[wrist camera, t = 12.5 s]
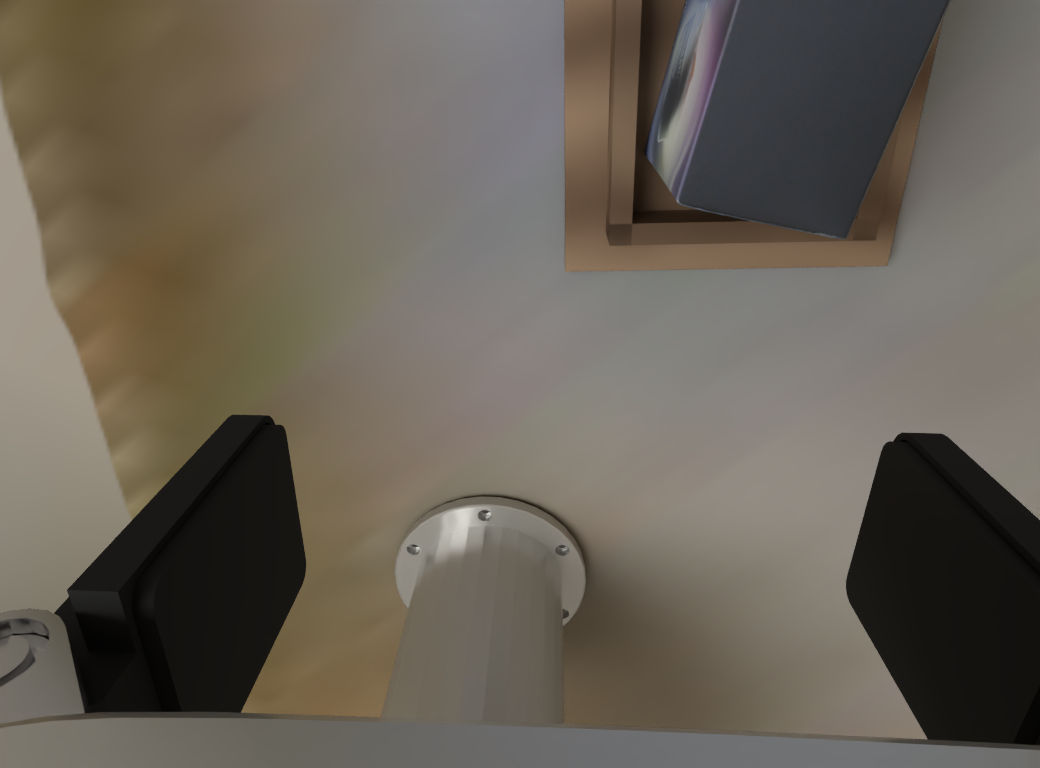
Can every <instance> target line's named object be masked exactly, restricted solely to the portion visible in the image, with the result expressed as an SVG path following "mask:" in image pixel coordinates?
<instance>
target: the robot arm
mask: <svg viewBox="0 0 1040 768" xmlns="http://www.w3.org/2000/svg"><path fill="white" fill-rule="evenodd" d="M305 572H306V558H305V552H304V545H303V539H302V532H301V526H300V519H299V513H298V507H297V500H296V494H295V487H294V481H293V474H292V468H291V461H290V455H289V449H288V442H287V436H286V431H285V429H284V427H283V426H282V425H275V423H274V421H273V419H272V418H271V417H270V416H262V415H231V416H230V417H228V418H227V419H226V421H225V422H224V423H223V424H222V425H221V426H220V427H219V428H218V429H217V430H216V431H215V432H214V433H213V434H212V435H211V437H210V438H209V439H208V440H207V441H206V442H205V443H204V444H203V445H202V446H201V447H200V448H199V449H198V450H197V452H196V453H195V454H194V455H193V456H192V457H191V458H190V459H189V460H188V461H187V462H186V463H185V464H184V465H183V467H182V468H181V469H180V470H179V471H178V472H177V473H176V474H175V475H174V476H173V477H172V478H171V479H170V480H169V482H168V483H167V484H166V485H165V486H164V487H163V488H162V489H161V490H160V491H159V492H158V493H157V494H156V495H155V496H154V498H153V499H152V500H151V501H150V502H149V503H148V504H147V505H146V506H145V507H144V508H143V509H142V510H141V511H140V513H139V514H138V515H137V516H136V517H135V518H134V519H133V520H132V521H131V522H130V523H129V524H128V525H127V526H126V528H125V529H124V530H123V531H122V532H121V533H120V534H119V535H118V536H117V537H116V538H115V539H114V541H112V543H111V544H110V545H109V546H108V547H107V548H106V549H105V550H104V551H103V552H102V553H101V554H100V555H99V556H98V558H97V559H96V560H95V561H94V562H93V563H92V564H91V565H90V566H89V567H88V568H87V569H86V570H85V572H83V574H82V575H81V576H80V577H79V578H78V579H77V580H76V581H75V582H74V583H73V584H72V585H71V586H70V587H69V589H68V590H67V591H68V594H69V597H68V599H67V600H66V601H65V602H64V603H63V604H62V605H61V606H60V607H59V608H58V609H57V611H56V612H55V613H52V612H50V611H48V610H39V609H30V608H29V609H21V610H12V611H7V612H3V613H0V768H1040V520H1039V519H1038V518H1037V517H1036V516H1035V515H1033V514H1032V513H1031V512H1030V511H1029V510H1028V509H1027V508H1026V507H1025V506H1023V505H1022V504H1021V503H1020V502H1019V501H1018V500H1017V499H1016V498H1015V497H1014V496H1012V495H1011V494H1010V493H1009V492H1008V491H1007V490H1006V489H1005V488H1004V487H1002V486H1001V485H1000V484H999V483H998V482H997V481H996V480H995V479H994V478H992V477H991V476H990V475H989V474H988V473H987V472H986V471H985V470H984V469H983V468H981V467H980V466H979V465H978V464H977V463H976V462H975V461H974V460H973V459H971V458H970V457H969V456H968V455H967V454H966V453H965V452H964V451H963V450H961V449H960V448H959V447H958V446H957V445H956V444H955V443H954V442H953V441H952V440H950V439H949V438H948V437H947V436H945V435H943V434H931V433H901V434H899V435H898V436H897V437H896V438H895V439H894V441H893V442H887V443H886V444H885V445H884V446H883V449H882V451H881V455H880V458H879V462H878V466H877V469H876V473H875V477H874V480H873V484H872V488H871V491H870V495H869V499H868V502H867V506H866V510H865V513H864V517H863V521H862V524H861V528H860V531H859V535H858V539H857V542H856V546H855V550H854V553H853V557H852V561H851V564H850V568H849V572H848V575H847V580H846V590H847V596H848V600H849V602H850V604H851V606H852V608H853V609H854V611H855V613H856V615H857V616H858V618H859V620H860V621H861V623H862V625H863V627H864V628H865V630H866V632H867V634H868V635H869V637H870V639H871V641H872V642H873V644H874V646H875V648H876V649H877V651H878V653H879V655H880V656H881V658H882V660H883V662H884V663H885V665H886V667H887V669H888V670H889V672H890V674H891V676H892V677H893V679H894V681H895V683H896V684H897V686H898V688H899V690H900V691H901V693H902V695H903V697H904V698H905V700H906V702H907V704H908V705H909V707H910V709H911V710H912V712H913V714H914V716H915V717H916V719H917V721H918V723H919V724H920V726H921V728H922V730H923V731H924V733H925V735H926V737H927V738H928V740H926V739H904V738H882V737H861V736H839V735H817V734H796V733H774V732H752V731H728V730H703V729H679V728H655V727H631V726H605V725H580V724H564V670H563V626H564V625H566V624H567V623H568V622H569V621H570V620H571V619H572V617H573V616H574V614H575V613H576V612H577V610H578V609H579V607H580V604H581V602H582V599H583V597H584V592H585V585H586V574H585V564H584V560H583V556H582V552H581V550H580V548H579V546H578V544H577V542H576V540H575V539H574V538H573V536H572V535H571V534H570V533H569V531H568V530H567V529H566V528H565V527H564V526H563V525H562V524H561V523H559V522H558V521H557V520H556V519H555V518H553V517H552V516H551V515H549V514H547V513H545V512H544V511H542V510H540V509H538V508H536V507H534V506H531V505H528V504H526V503H523V502H520V501H516V500H511V499H506V498H501V497H472V498H464V499H459V500H456V501H452V502H449V503H446V504H443V505H441V506H439V507H437V508H435V509H433V510H431V511H429V512H428V513H426V514H425V515H424V516H423V517H421V518H420V519H419V520H417V521H416V522H415V524H414V525H413V526H412V527H411V528H410V529H409V531H408V532H407V533H406V535H405V537H404V539H403V541H402V543H401V545H400V548H399V552H398V555H397V558H396V564H395V580H396V586H397V590H398V592H399V594H400V597H401V599H402V601H403V603H404V604H405V606H406V607H407V609H408V612H407V616H406V620H405V624H404V628H403V632H402V636H401V639H400V643H399V647H398V651H397V655H396V659H395V663H394V667H393V671H392V675H391V679H390V683H389V687H388V690H387V694H386V698H385V702H384V706H383V710H382V714H381V717H358V716H329V715H300V714H267V713H241V711H242V709H243V706H244V704H245V702H246V700H247V698H248V696H249V694H250V692H251V690H252V688H253V686H254V684H255V682H256V680H257V677H258V675H259V673H260V671H261V669H262V667H263V665H264V663H265V661H266V659H267V657H268V655H269V653H270V650H271V648H272V646H273V644H274V642H275V640H276V638H277V636H278V634H279V632H280V630H281V628H282V626H283V624H284V621H285V619H286V617H287V615H288V613H289V611H290V609H291V607H292V605H293V603H294V601H295V599H296V597H297V595H298V592H299V590H300V588H301V586H302V584H303V581H304V577H305Z"/></svg>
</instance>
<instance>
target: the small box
mask: <svg viewBox="0 0 1040 768" xmlns="http://www.w3.org/2000/svg"><path fill="white" fill-rule="evenodd" d="M950 1H951V0H685V3H684V7H683V11H682V14H681V18H680V21H679V25H678V29H677V32H676V36H675V39H674V43H673V47H672V51H671V54H670V58H669V61H668V65H667V68H666V72H665V76H664V79H663V83H662V87H661V90H660V94H659V98H658V102H657V105H656V109H655V113H654V116H653V120H652V124H651V127H650V131H649V135H648V138H647V142H646V146H645V149H644V155H645V156H646V157H647V158H648V160H649V161H650V163H651V164H652V165H653V167H654V168H655V170H656V171H657V173H658V174H659V175H660V177H661V178H662V180H663V181H664V183H665V184H666V186H667V187H668V189H669V190H670V192H671V193H672V195H673V196H674V198H675V200H676V202H677V203H678V204H680V205H682V206H686V207H690V208H694V209H698V210H702V211H706V212H710V213H715V214H720V215H725V216H729V217H733V218H738V219H742V220H747V221H752V222H758V223H762V224H767V225H771V226H776V227H781V228H785V229H790V230H795V231H801V232H806V233H810V234H815V235H820V236H825V237H829V238H834V239H846V238H847V236H848V234H849V232H850V229H851V227H852V225H853V222H854V220H855V218H856V216H857V213H858V211H859V209H860V207H861V205H862V202H863V200H864V198H865V195H866V193H867V191H868V189H869V186H870V184H871V182H872V179H873V177H874V175H875V173H876V170H877V168H878V166H879V163H880V161H881V159H882V156H883V154H884V152H885V150H886V148H887V145H888V143H889V141H890V138H891V136H892V134H893V131H894V129H895V127H896V125H897V122H898V120H899V118H900V115H901V113H902V111H903V109H904V106H905V104H906V102H907V99H908V97H909V95H910V93H911V91H912V88H913V86H914V83H915V81H916V79H917V76H918V74H919V72H920V70H921V67H922V65H923V63H924V60H925V58H926V56H927V54H928V51H929V49H930V47H931V44H932V42H933V39H934V37H935V35H936V33H937V30H938V28H939V26H940V24H941V21H942V19H943V17H944V15H945V12H946V10H947V8H948V5H949V3H950Z"/></svg>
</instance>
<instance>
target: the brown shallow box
mask: <svg viewBox="0 0 1040 768" xmlns="http://www.w3.org/2000/svg"><path fill="white" fill-rule="evenodd" d="M684 3H685V0H565V272H568V271H624V270H680V269H737V268H793V267H849V266H887V264H888V260H889V255H890V251H891V246H892V242H893V237H894V233H895V228H896V224H897V220H898V215H899V211H900V206H901V202H902V197H903V193H904V189H905V184H906V180H907V175H908V171H909V166H910V162H911V157H912V153H913V149H914V144H915V140H916V135H917V131H918V126H919V122H920V117H921V113H922V109H923V104H924V100H925V95H926V91H927V86H928V82H929V78H930V73H931V69H932V64H933V60H934V55H935V51H936V46H937V42H938V38H939V33H940V29H941V24H942V21H941V24H940V26H939V28H938V30H937V33H936V35H935V37H934V39H933V42H932V44H931V47H930V49H929V51H928V54H927V56H926V58H925V60H924V63H923V65H922V67H921V70H920V72H919V74H918V76H917V79H916V81H915V83H914V86H913V88H912V91H911V93H910V95H909V97H908V99H907V102H906V104H905V106H904V109H903V111H902V113H901V115H900V118H899V120H898V122H897V125H896V127H895V129H894V131H893V134H892V136H891V138H890V141H889V143H888V145H887V148H886V150H885V152H884V154H883V156H882V159H881V161H880V163H879V166H878V168H877V170H876V173H875V175H874V177H873V179H872V182H871V184H870V186H869V189H868V191H867V193H866V195H865V198H864V200H863V202H862V205H861V207H860V209H859V211H858V213H857V216H856V218H855V220H854V222H853V225H852V227H851V229H850V232H849V234H848V236H847V238H846V239H834V238H829V237H825V236H820V235H815V234H810V233H806V232H801V231H795V230H790V229H785V228H781V227H776V226H771V225H767V224H762V223H758V222H752V221H747V220H742V219H738V218H733V217H729V216H725V215H720V214H715V213H710V212H706V211H702V210H698V209H694V208H690V207H686V206H682V205H680V204H678V203H677V202H676V200H675V198H674V196H673V195H672V193H671V192H670V190H669V189H668V187H667V186H666V184H665V183H664V181H663V180H662V178H661V177H660V175H659V174H658V173H657V171H656V170H655V168H654V167H653V165H652V164H651V163H650V161H649V160H648V158H647V157H646V156H645V155H644V149H645V146H646V142H647V138H648V135H649V131H650V127H651V124H652V120H653V116H654V113H655V109H656V105H657V102H658V98H659V94H660V90H661V87H662V83H663V79H664V76H665V72H666V68H667V65H668V61H669V58H670V54H671V51H672V47H673V43H674V39H675V36H676V32H677V29H678V25H679V21H680V18H681V14H682V11H683V7H684ZM942 20H943V19H942Z"/></svg>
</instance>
